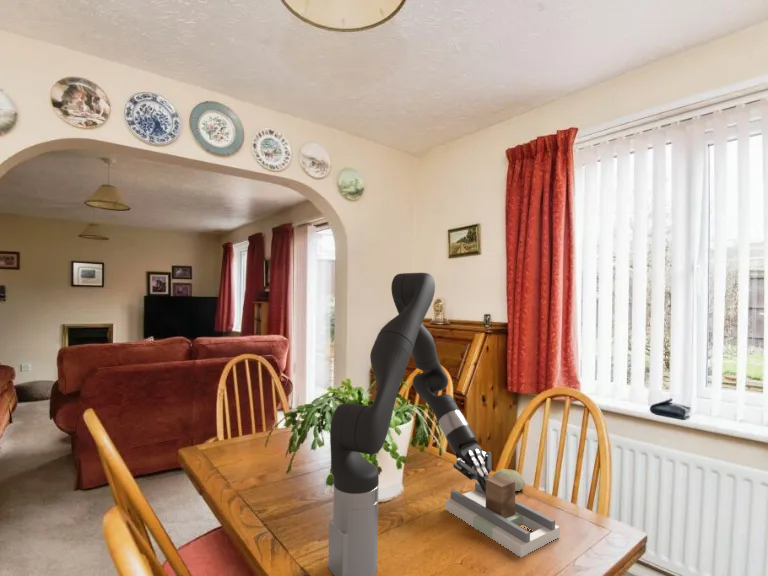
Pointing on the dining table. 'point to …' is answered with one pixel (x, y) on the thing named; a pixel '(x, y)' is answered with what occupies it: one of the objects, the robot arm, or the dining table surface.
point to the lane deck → (504, 522)
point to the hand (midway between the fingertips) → (490, 492)
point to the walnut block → (500, 496)
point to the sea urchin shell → (512, 477)
